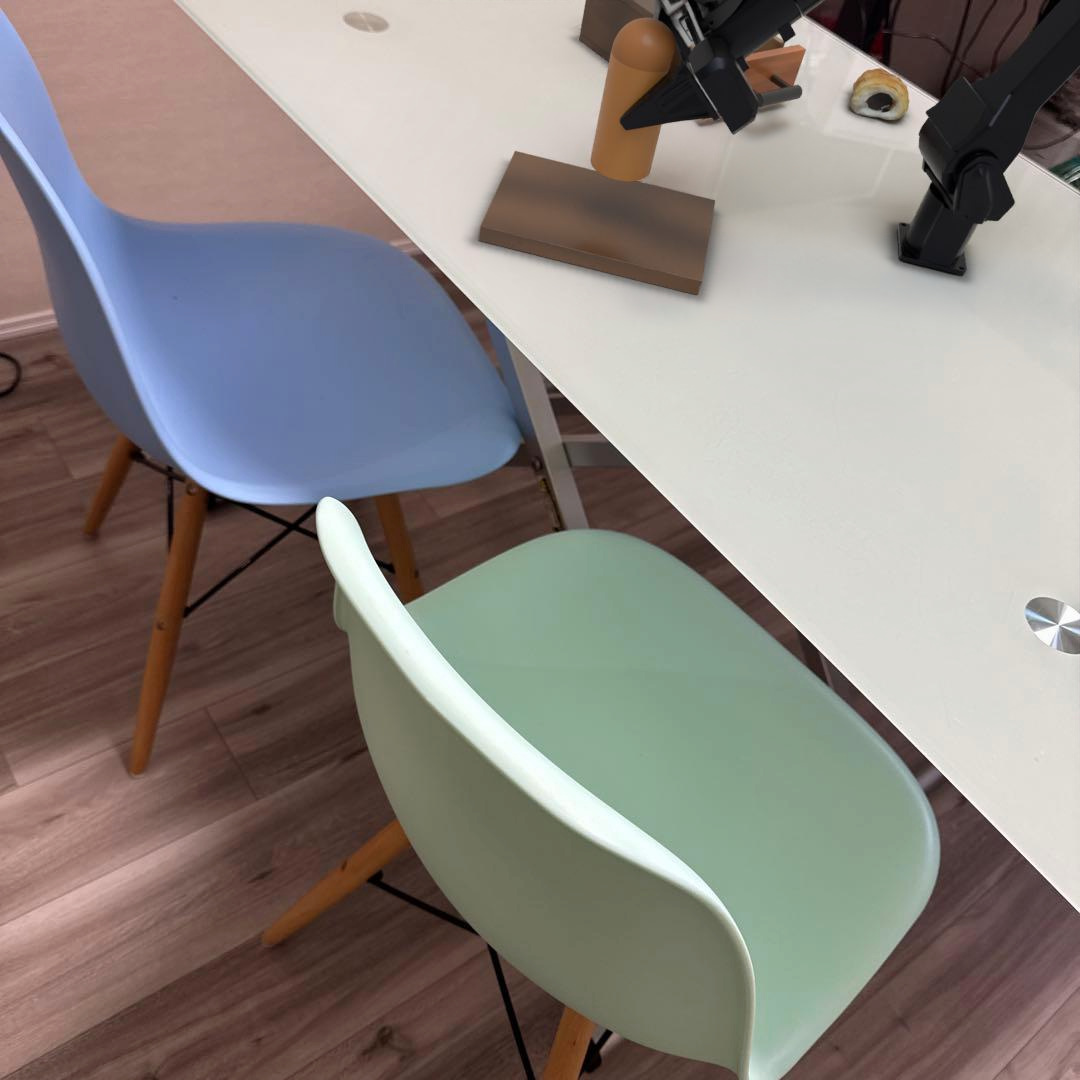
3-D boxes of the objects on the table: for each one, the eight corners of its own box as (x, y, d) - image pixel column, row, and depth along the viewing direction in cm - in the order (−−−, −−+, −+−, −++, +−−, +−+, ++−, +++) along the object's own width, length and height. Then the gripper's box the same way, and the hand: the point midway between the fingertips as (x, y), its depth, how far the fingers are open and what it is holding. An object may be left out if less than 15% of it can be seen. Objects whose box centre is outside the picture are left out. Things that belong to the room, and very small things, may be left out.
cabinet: (736, 70, 117) (756, 4, 112) (644, 89, 111) (660, 19, 105) (670, 24, 123) (685, -41, 117) (578, 39, 116) (590, -29, 111)
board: (697, 295, 87) (702, 281, 85) (478, 240, 87) (480, 225, 86) (711, 213, 96) (715, 199, 95) (512, 164, 96) (514, 150, 95)
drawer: (814, 118, 110) (833, 66, 106) (728, 139, 104) (745, 85, 100) (722, 55, 117) (737, 4, 113) (637, 71, 111) (649, 18, 107)
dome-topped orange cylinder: (662, 169, 87) (698, 26, 78) (625, 188, 84) (658, 42, 75) (615, 143, 89) (645, 0, 80) (577, 160, 86) (604, 14, 77)
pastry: (850, 79, 120) (863, 48, 118) (904, 94, 120) (918, 63, 117) (846, 112, 114) (860, 80, 111) (902, 128, 114) (917, 96, 111)
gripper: (709, -153, 76) (549, -18, 83) (766, -61, 65) (574, 88, 71) (772, -33, 84) (620, 83, 90) (833, 70, 72) (654, 194, 79)
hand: (617, 108), depth 82 cm, fingers closed on dome-topped orange cylinder, 5 cm apart
